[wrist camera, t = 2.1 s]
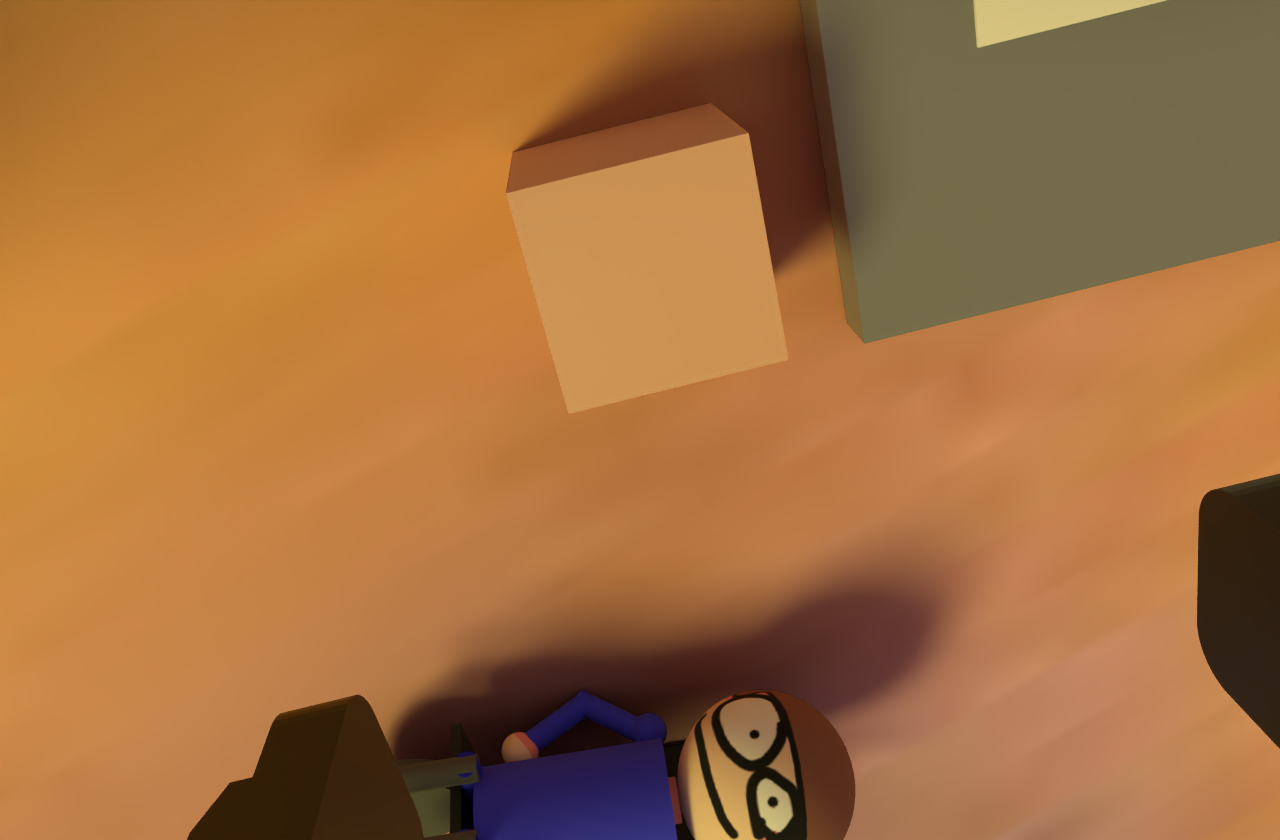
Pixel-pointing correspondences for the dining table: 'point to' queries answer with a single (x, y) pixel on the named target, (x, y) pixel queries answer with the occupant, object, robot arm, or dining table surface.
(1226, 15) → the base plate
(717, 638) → the dining table surface
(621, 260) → the terracotta block
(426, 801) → the character figurine
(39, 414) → the dining table surface
